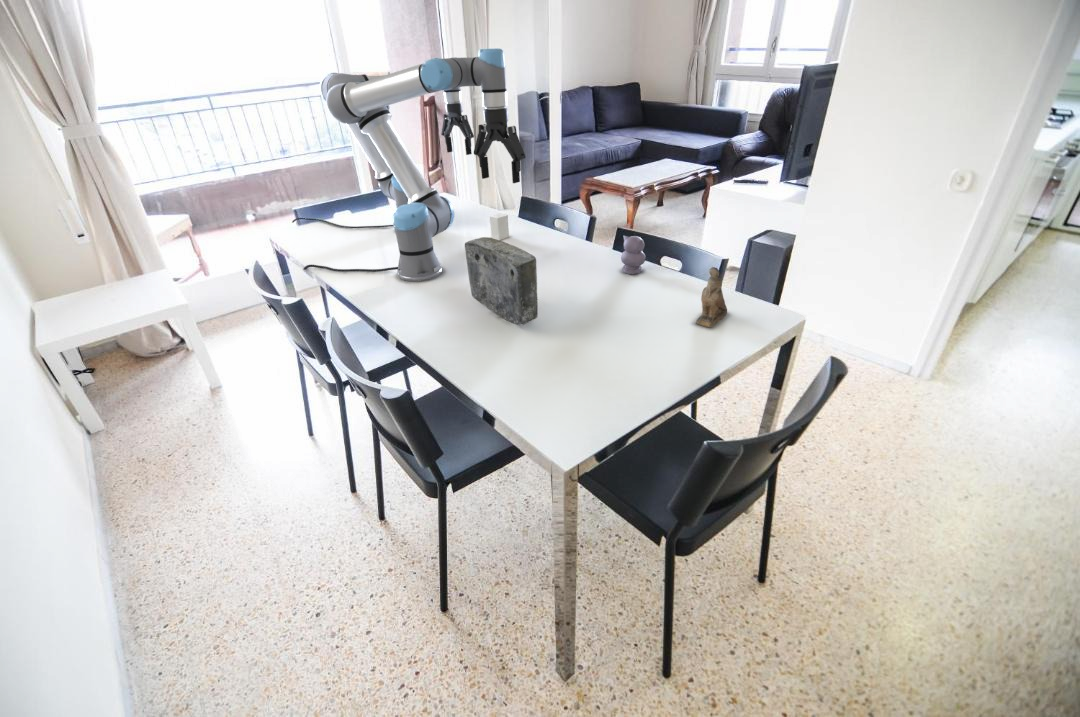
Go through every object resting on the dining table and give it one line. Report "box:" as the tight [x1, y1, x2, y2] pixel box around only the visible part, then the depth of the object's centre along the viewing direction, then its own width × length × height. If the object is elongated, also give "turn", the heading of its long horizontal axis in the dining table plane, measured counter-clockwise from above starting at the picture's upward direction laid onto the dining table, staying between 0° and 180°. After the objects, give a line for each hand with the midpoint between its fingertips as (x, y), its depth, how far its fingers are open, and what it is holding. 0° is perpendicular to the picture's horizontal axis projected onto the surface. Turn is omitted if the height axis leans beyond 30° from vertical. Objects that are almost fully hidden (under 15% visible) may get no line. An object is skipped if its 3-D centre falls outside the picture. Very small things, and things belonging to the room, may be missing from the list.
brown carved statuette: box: [695, 266, 728, 328], centre depth 135 cm, size 12×6×18 cm, turn 136°
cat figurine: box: [620, 234, 646, 275], centre depth 168 cm, size 9×8×12 cm
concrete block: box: [464, 236, 539, 326], centre depth 141 cm, size 27×9×20 cm, turn 36°
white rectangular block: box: [489, 213, 510, 241], centre depth 206 cm, size 5×6×9 cm
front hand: (500, 180), depth 163 cm, fingers open, 13 cm apart
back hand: (459, 153), depth 234 cm, fingers open, 13 cm apart
